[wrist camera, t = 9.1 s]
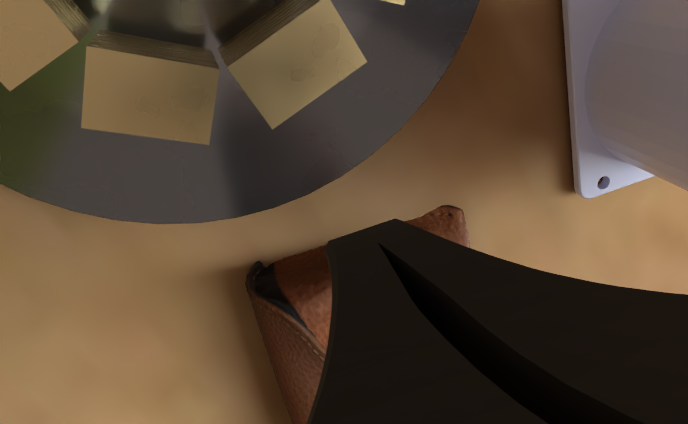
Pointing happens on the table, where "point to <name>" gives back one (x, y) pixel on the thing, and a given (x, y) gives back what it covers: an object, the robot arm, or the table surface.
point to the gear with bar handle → (182, 66)
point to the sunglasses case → (313, 310)
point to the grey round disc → (222, 115)
